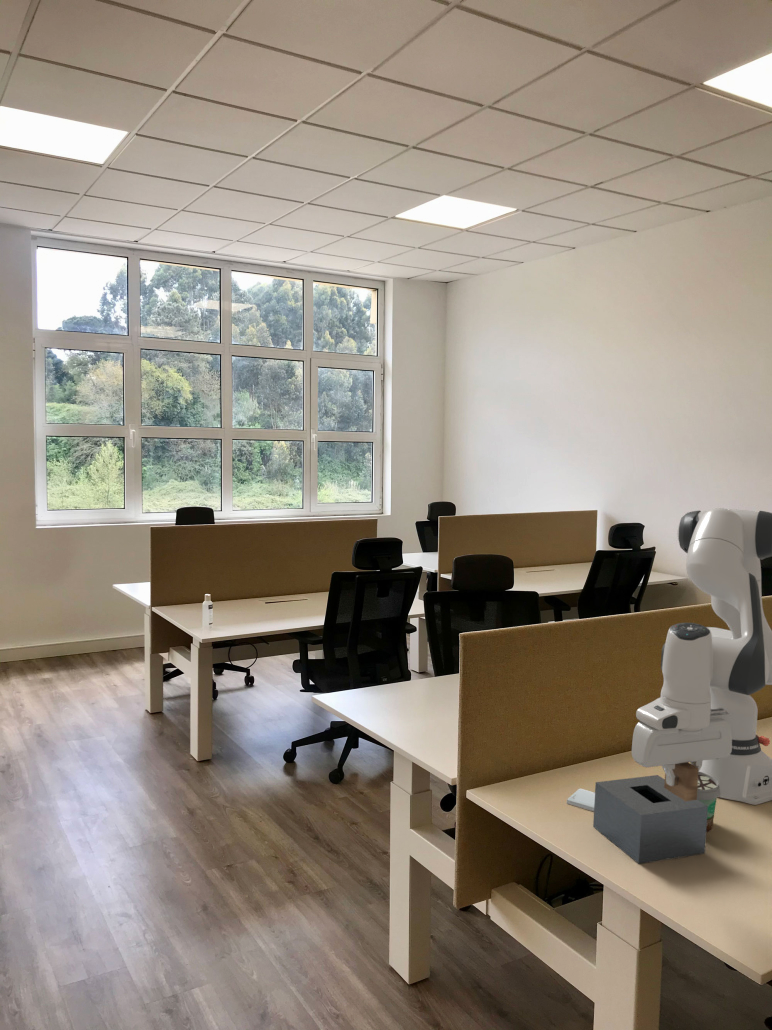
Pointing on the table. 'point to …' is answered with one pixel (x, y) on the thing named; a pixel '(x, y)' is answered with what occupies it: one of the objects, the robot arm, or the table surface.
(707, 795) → the food container
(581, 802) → the hard drive
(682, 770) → the walnut tile
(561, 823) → the table surface
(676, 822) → the coin box
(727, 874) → the table surface
